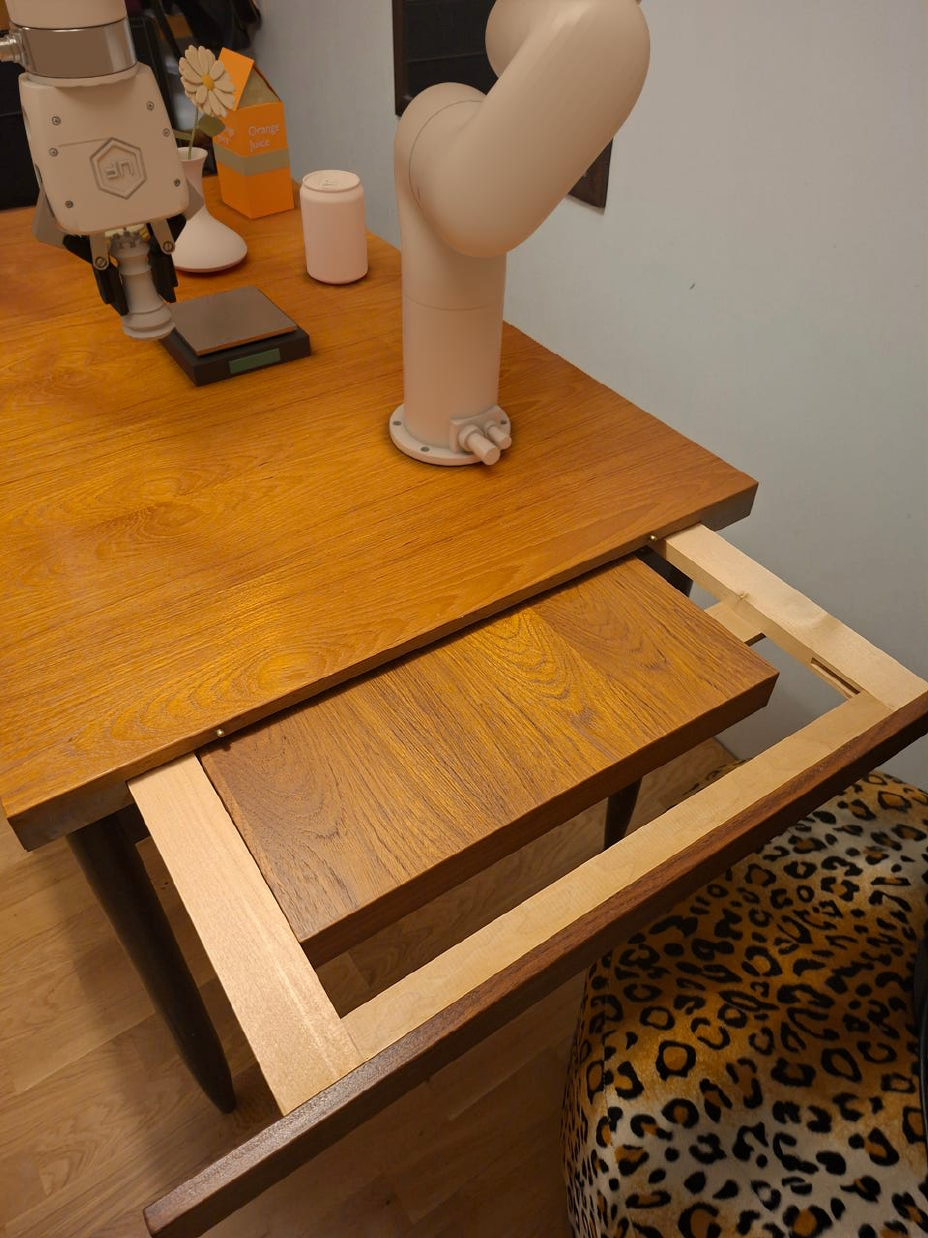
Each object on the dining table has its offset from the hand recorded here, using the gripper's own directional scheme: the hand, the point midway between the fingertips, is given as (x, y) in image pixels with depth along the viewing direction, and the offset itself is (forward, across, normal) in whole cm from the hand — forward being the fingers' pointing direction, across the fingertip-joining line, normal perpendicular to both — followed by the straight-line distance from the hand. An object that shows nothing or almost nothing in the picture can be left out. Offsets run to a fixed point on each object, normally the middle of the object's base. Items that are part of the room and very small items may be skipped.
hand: (142, 300), depth 73 cm
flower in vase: (+17, +22, +43) cm, 51 cm away
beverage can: (+17, +34, +31) cm, 49 cm away
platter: (+14, +14, +20) cm, 28 cm away
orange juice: (+17, +36, +59) cm, 71 cm away
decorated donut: (+17, +13, +56) cm, 60 cm away
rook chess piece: (+3, 0, 0) cm, 3 cm away
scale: (+17, +14, +20) cm, 30 cm away
